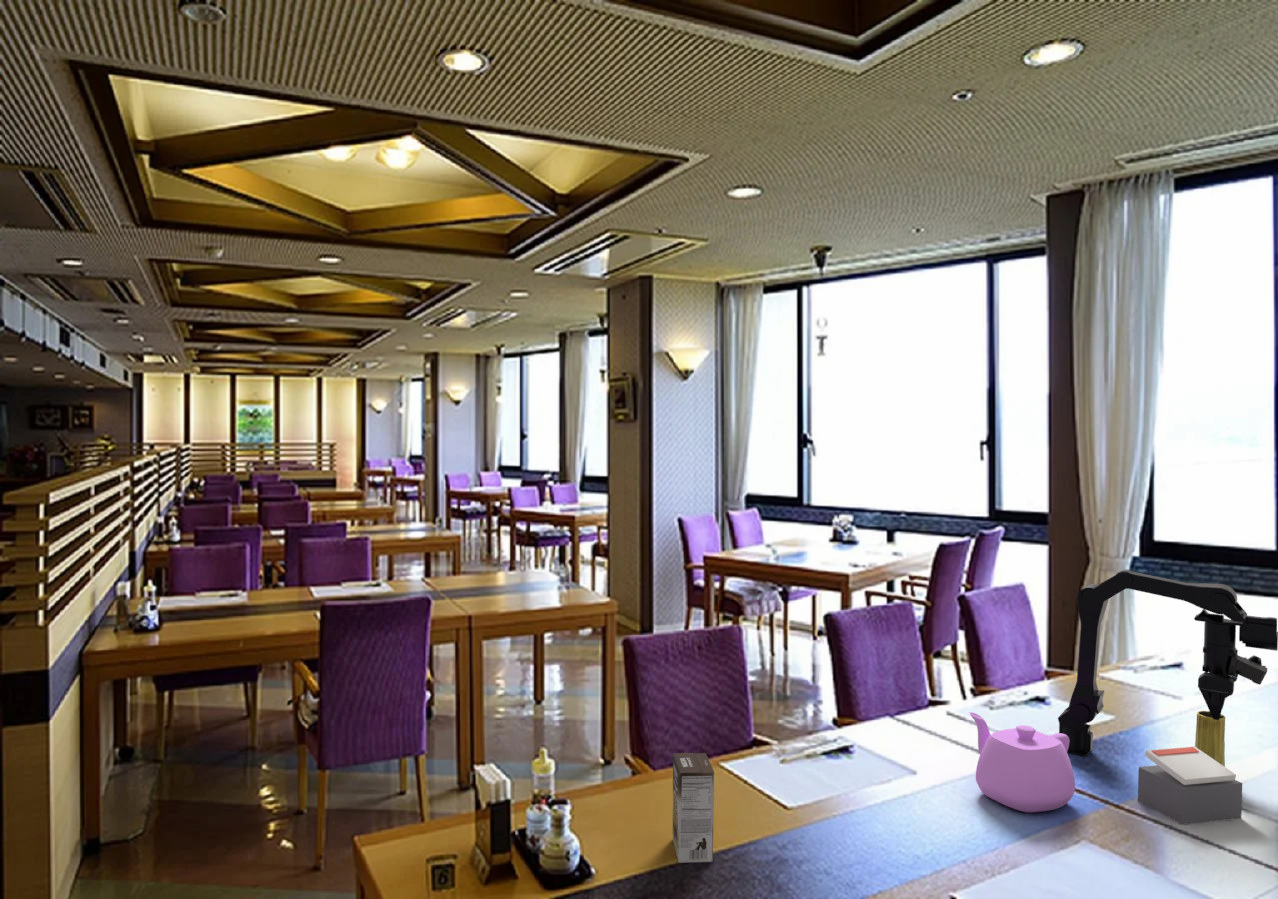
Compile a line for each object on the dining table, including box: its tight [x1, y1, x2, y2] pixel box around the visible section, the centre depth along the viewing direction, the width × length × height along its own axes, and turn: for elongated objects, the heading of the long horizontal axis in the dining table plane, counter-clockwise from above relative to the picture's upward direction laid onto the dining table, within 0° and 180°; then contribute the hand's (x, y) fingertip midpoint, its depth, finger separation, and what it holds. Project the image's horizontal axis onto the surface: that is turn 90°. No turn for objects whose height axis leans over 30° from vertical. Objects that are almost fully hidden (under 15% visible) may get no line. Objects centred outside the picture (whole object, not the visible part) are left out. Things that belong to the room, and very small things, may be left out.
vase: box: [1194, 710, 1226, 767], centre depth 191 cm, size 6×6×14 cm
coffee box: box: [672, 752, 715, 864], centre depth 156 cm, size 9×6×16 cm
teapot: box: [968, 712, 1076, 814], centre depth 182 cm, size 23×21×15 cm
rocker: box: [1144, 746, 1237, 785], centre depth 175 cm, size 10×12×1 cm
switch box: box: [1137, 764, 1243, 825], centre depth 175 cm, size 11×14×7 cm
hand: (1217, 714), depth 190 cm, fingers open, 9 cm apart
